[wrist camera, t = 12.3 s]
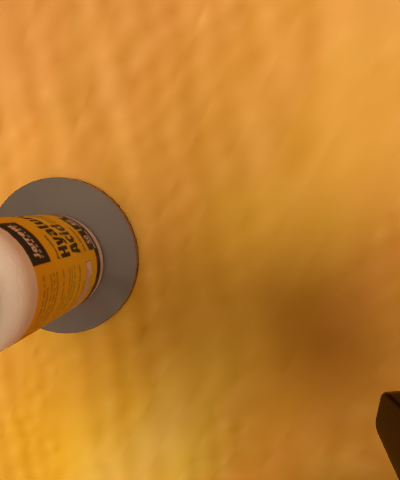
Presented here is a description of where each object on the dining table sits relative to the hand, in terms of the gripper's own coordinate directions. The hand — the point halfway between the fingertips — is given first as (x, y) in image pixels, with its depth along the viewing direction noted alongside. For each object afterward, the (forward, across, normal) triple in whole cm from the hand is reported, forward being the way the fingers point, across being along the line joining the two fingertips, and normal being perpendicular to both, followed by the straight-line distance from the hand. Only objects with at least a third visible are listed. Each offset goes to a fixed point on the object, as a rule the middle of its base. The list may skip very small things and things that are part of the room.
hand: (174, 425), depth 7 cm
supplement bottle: (+14, +6, +2) cm, 15 cm away
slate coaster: (+14, +6, +2) cm, 16 cm away
